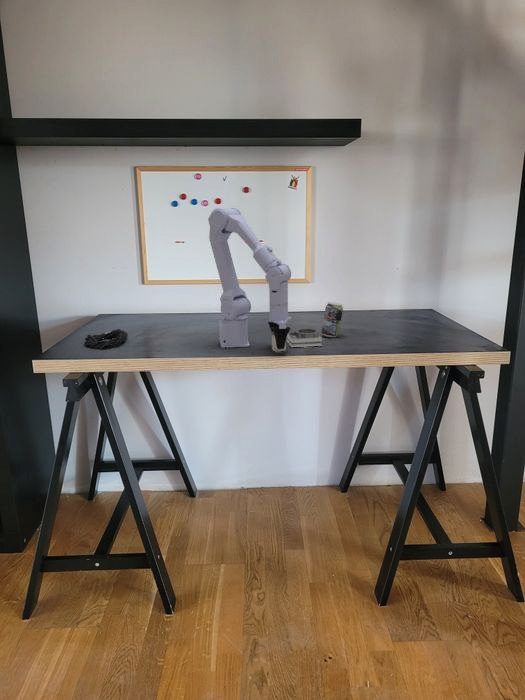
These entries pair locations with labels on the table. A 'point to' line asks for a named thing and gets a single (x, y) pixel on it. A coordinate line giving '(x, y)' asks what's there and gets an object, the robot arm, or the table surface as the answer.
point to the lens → (275, 344)
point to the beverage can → (332, 319)
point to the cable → (117, 339)
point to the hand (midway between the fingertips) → (278, 346)
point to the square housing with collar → (304, 338)
